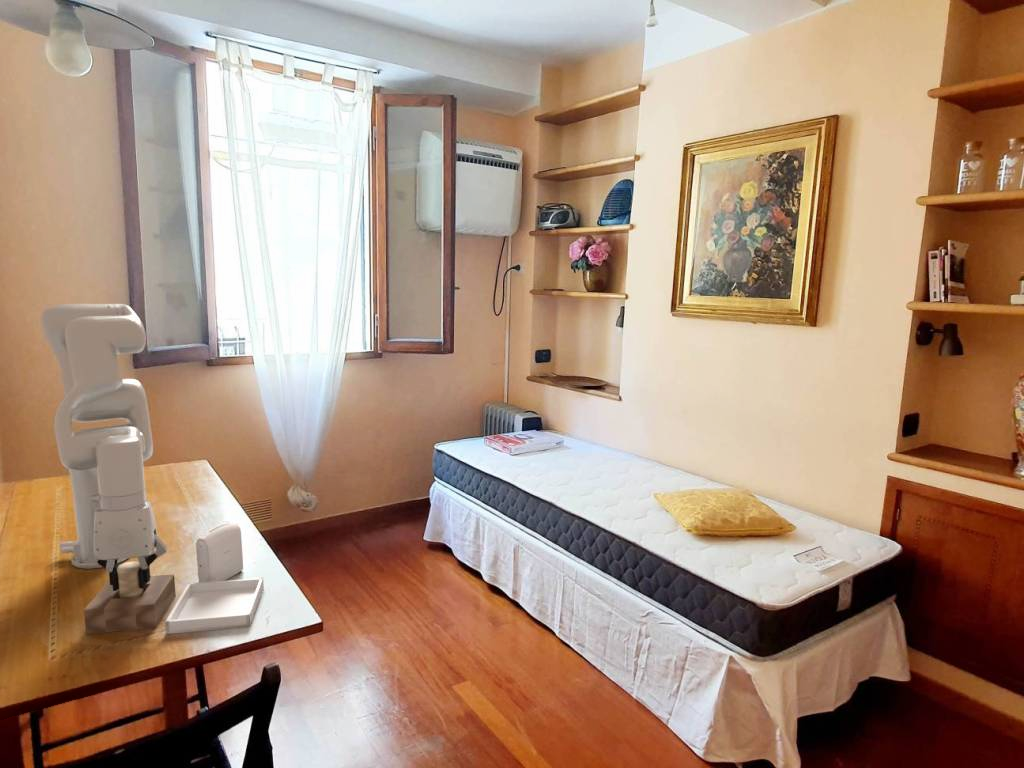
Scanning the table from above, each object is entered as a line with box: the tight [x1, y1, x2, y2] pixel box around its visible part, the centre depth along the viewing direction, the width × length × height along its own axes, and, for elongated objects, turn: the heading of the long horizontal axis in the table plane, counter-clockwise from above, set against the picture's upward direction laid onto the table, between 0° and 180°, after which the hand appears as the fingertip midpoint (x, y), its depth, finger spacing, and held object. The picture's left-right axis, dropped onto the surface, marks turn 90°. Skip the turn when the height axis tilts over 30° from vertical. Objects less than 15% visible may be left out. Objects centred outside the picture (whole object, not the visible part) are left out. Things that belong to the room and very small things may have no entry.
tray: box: [164, 577, 265, 635], centre depth 125 cm, size 15×15×2 cm
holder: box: [83, 574, 177, 635], centre depth 123 cm, size 12×12×5 cm
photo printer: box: [195, 522, 244, 583], centre depth 137 cm, size 10×4×12 cm, turn 158°
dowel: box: [117, 561, 143, 598], centre depth 122 cm, size 4×4×10 cm
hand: (130, 585), depth 122 cm, fingers closed on dowel, 4 cm apart
